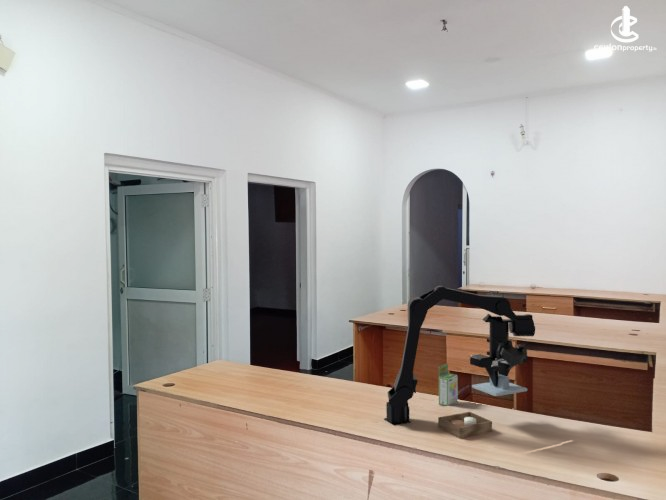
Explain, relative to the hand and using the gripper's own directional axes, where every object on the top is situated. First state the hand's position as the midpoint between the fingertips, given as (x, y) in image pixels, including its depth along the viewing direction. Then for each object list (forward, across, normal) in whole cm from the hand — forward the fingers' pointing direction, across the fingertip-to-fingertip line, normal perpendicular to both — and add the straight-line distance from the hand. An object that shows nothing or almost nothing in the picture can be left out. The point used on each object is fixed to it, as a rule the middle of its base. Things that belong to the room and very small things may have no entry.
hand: (499, 386), depth 162 cm
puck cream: (+11, -11, 0) cm, 16 cm away
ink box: (+12, -2, +23) cm, 26 cm away
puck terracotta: (+11, -16, 0) cm, 20 cm away
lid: (+1, 0, 0) cm, 1 cm away
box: (+12, -14, 0) cm, 18 cm away
